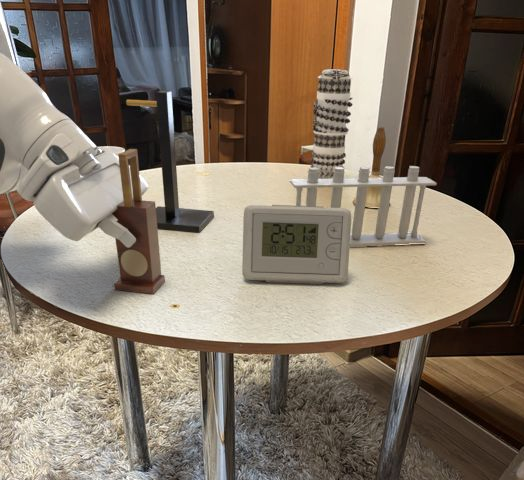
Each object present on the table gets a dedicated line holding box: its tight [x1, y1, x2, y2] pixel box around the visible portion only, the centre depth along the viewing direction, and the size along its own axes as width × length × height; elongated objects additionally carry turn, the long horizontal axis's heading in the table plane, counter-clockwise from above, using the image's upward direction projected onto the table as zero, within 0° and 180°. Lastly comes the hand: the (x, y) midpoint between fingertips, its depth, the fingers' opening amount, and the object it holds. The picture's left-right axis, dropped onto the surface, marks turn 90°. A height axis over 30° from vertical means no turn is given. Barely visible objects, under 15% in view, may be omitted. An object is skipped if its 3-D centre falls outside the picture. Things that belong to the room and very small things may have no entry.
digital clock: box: [241, 204, 352, 285], centre depth 77 cm, size 16×9×11 cm, turn 77°
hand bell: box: [352, 126, 391, 207], centre depth 110 cm, size 8×8×16 cm
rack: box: [125, 90, 215, 234], centre depth 95 cm, size 14×10×23 cm
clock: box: [112, 148, 166, 295], centre depth 71 cm, size 6×5×19 cm
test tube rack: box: [288, 165, 438, 248], centre depth 89 cm, size 25×4×13 cm, turn 99°
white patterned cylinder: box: [309, 68, 354, 179], centre depth 123 cm, size 9×9×25 cm
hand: (141, 237), depth 72 cm, fingers closed on clock, 3 cm apart
